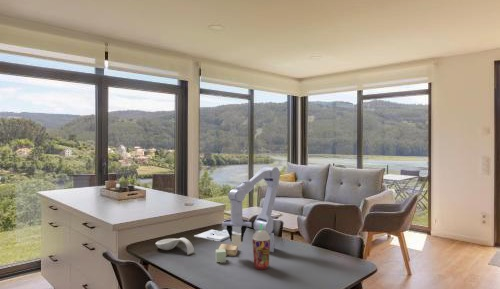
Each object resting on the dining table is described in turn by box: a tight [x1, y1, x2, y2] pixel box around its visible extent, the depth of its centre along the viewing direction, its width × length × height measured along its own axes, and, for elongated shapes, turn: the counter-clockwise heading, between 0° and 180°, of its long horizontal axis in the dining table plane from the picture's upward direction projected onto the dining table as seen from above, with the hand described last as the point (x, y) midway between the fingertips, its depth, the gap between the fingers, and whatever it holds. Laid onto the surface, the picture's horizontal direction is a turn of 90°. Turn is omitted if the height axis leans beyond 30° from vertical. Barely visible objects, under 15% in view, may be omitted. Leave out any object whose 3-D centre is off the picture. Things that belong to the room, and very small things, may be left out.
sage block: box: [215, 248, 227, 263], centre depth 166 cm, size 4×4×5 cm
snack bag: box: [193, 229, 238, 242], centre depth 210 cm, size 19×20×2 cm
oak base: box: [218, 243, 239, 257], centre depth 178 cm, size 9×9×3 cm
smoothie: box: [251, 224, 271, 270], centre depth 157 cm, size 8×8×20 cm
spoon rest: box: [155, 237, 195, 256], centre depth 182 cm, size 24×12×7 cm, turn 58°
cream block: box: [231, 232, 243, 247], centre depth 170 cm, size 4×4×5 cm
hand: (236, 241), depth 170 cm, fingers closed on cream block, 4 cm apart
